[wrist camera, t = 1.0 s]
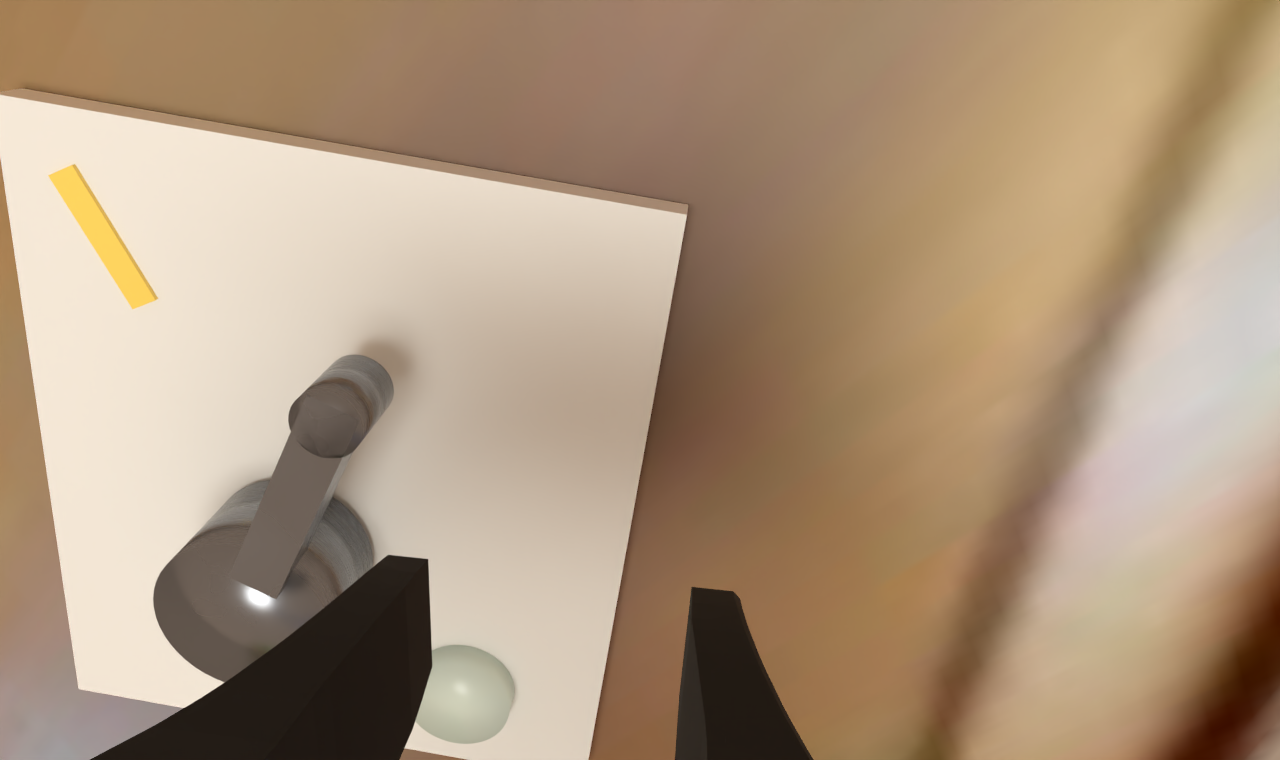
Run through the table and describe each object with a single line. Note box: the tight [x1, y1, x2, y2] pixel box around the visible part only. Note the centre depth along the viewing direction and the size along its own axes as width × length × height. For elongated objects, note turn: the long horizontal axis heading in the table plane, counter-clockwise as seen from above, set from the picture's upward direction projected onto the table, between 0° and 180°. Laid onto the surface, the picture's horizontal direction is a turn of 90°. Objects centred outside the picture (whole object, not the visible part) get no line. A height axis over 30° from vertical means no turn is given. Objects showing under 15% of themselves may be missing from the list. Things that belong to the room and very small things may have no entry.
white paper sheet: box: [0, 88, 688, 760], centre depth 24 cm, size 18×16×2 cm
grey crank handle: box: [153, 354, 394, 682], centre depth 22 cm, size 10×4×3 cm, turn 151°
